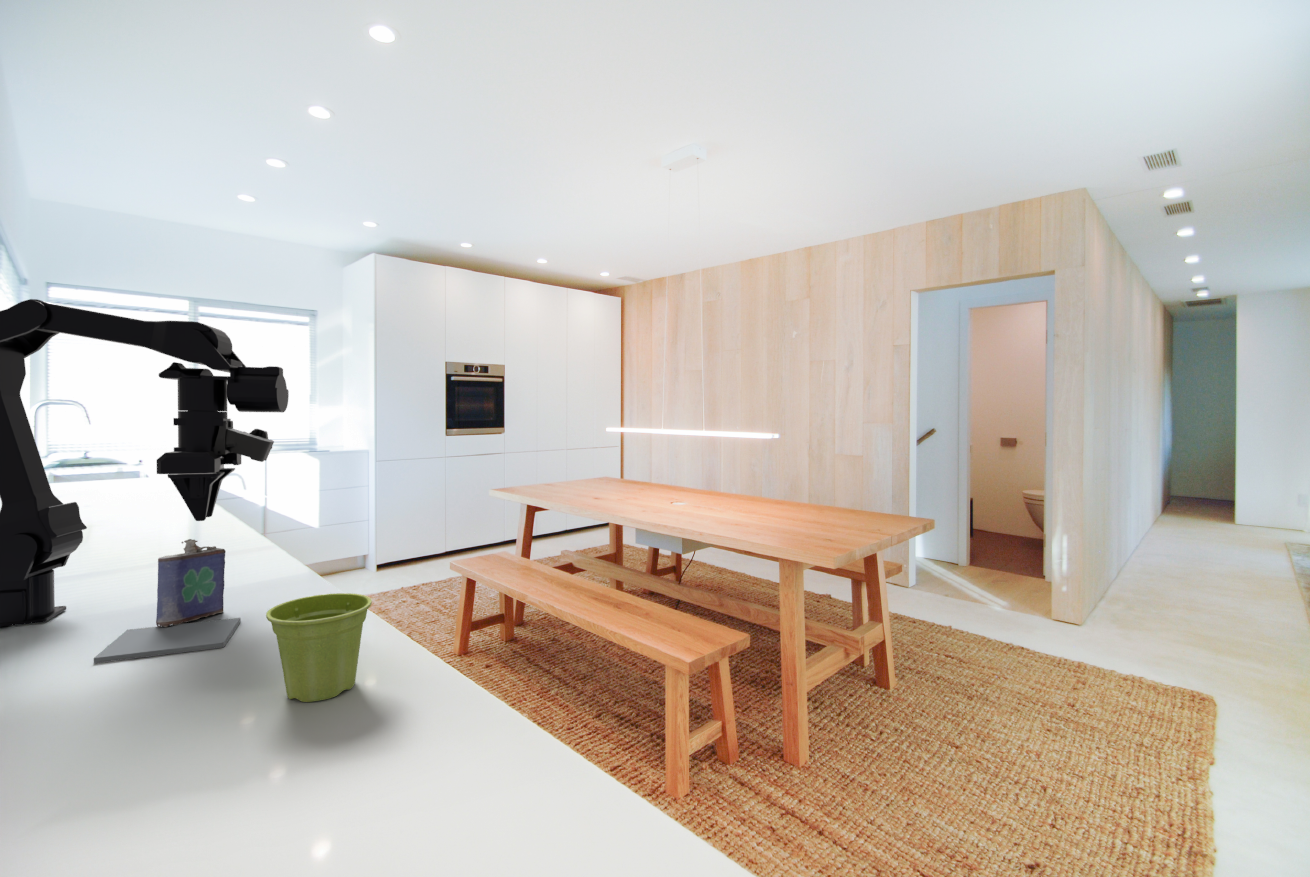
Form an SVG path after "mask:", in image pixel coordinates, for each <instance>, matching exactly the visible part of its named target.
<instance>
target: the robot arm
mask: <svg viewBox="0 0 1310 877" xmlns="http://www.w3.org/2000/svg"><path fill="white" fill-rule="evenodd" d="M58 334H66V335H71V336H77V337H82V338H88V339H95V340H100V341H107V342H112V343H118V344H124V345H130V346H135V347H142V348H146V349H149V350H152V351H153V352H154V351H155V352H158V353H160V354H163V355H165V356H169V357H172V358H175V359H178V360H182V361H185V362H187V363H191V364H192V363H193V364H197V365H201V366H202V365H203V366H206V367H208V368H209V369H208V368H196V367H195V368H194V367H193V368H192V367H186V366H185V365H184V364H183V363H181V362H175V361H174V362H172V363H171V364H170V366H168V367H167V368H166V369H164V370H162V371H161V372H159V373H158V377H159V378H160V379H167V380H175V381H176V380H177V417H173V426H177V444H178V446H177V447H176V446H175V447H173V451H169V452H167V451H166V452H164V454H162V455H160V456H159V457H158V458H157V459H156V475H167V478H168V479H170V480H171V482H172V483H173V485H174V487H175V488H176V491H178V493H179V494H180V497H181V499H182V500H183V502H184V503H185V505H186V507H187V508H188V510H189V512H190V513H191V516H192V517H193V518H194V521H196V522H203V521H205V520H207V518H210V517H213V513H214V510H215V507H216V504H217V499H218V496H219V492H220V488H221V485H222V482H223V480H224V479H225V478H227V477H228V476H229V475H230V474H232V473H233V472H234V471H235V470H236V467H233V468H232V467H229V468H228V467H227V468H225V465H233V466H240V465H242V456H244V457H248V458H249V459H250V460H253V461H256V462H260V463H263V462H264V461H267V459H268V457H269V454H270V453H271V450H272V449H273V445H274V443H275V441H274V440H272V439H269V436H268V431H266V430H263V429H260V428H254V429H253V430H252V431H250V432H246V431H242V430H239V429H235V428H234V422H233V421H234V420H231V419H232V418H228V403H229V404H230V406H231V405H232V406H235V409H236V410H237V411H238V412H240V413H284V412H286V410H287V408H288V405H289V389H288V388H287V382H286V381H287V380H286V379H285V376H284V369H283V368H282V367H280V366H271V365H270V366H265V367H263V366H261V367H259V366H258V367H256V366H255V367H253V366H246V365H245V364H244V362H243V361H242V360H241V359H240V358H239V356H238V355H237V354H236V353H235V352H234V351H233V344H232V340H231V338H230V336H228V335H227V333H226V332H224V331H223V330H222V329H218V328H216V327H214V326H211V325H207V324H205V323H201V322H198V321H190V320H189V321H188V320H187V321H186V320H159V321H158V320H155V321H153V320H143V319H142V320H141V319H137V318H132V317H131V318H130V317H124V316H119V315H113V314H109V313H103V312H99V311H92V310H88V309H86V310H85V309H80V308H76V307H70V306H64V305H61V304H60V305H58V304H54V303H52V302H48V301H43V300H40V299H38V298H37V299H33V298H30V299H27V300H23V301H20V302H18V303H16V304H14V305H12V306H10V307H8V308H6V309H3V310H0V500H1V507H0V627H10V626H11V627H12V626H21V625H31V624H39V623H40V624H41V623H46V622H48V621H49V620H52V618H54V617H56V616H57V615H60V614H61V613H63V612H64V611H66V610H67V606H66V605H60V606H59V605H58V606H55V569H58V568H62V567H65V566H66V565H67V562H68V560H69V558H70V556H71V554H72V553H74V552H75V551H76V550H77V549H78V547H79V546H80V545H81V544H82V543H83V541H84V532H83V531H85V530H87V528H88V527H87V526H86V525H85V523H84V522H83V520H82V519H81V514H80V506H79V505H78V502H76V501H72V502H67V503H63V502H62V501H61V500H60V499H59V498H58V497H56V496H55V494H54V493H53V491H52V489H51V485H50V482H49V479H48V477H47V474H46V471H45V468H44V464H43V460H42V459H41V455H40V452H39V449H38V446H37V443H36V439H35V437H34V434H33V431H32V428H31V424H30V421H29V419H28V415H27V413H26V410H25V406H24V403H23V401H22V400H23V399H22V398H21V390H22V388H23V385H24V380H25V379H26V375H27V372H26V363H25V362H26V361H25V360H26V358H27V357H30V356H31V355H33V354H35V353H37V352H38V351H40V350H41V349H42V348H43V347H44V346H46V344H47V343H48V342H49V341H50V340H51V339H52V338H53V337H55V336H58ZM210 369H211V370H214V371H220V372H224V373H229V376H227V375H222V376H221V375H214V374H213V372H212V371H211V370H210Z"/></svg>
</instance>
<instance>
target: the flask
mask: <svg viewBox="0 0 1310 877" xmlns="http://www.w3.org/2000/svg"><path fill="white" fill-rule="evenodd" d="M184 543H185V546H184V548H183V551H184V553H176V554H171V555H164V556H161V557H158V558H157V590H156V591H157V597H156V598H157V600H156V617H155V623H156V627H160V626H164V627H167V626H169V625H177V624H183V623H187V622H188V623H189V622H191V621H196V620H199V619H200V618H204V617H205V618H207V617H209V616H214V615H216V614H221V613H223V612H224V592H225V566H226V560H225V558H226V550H225V548H219V547H217V546H215V545H214V546H201V547H200V546H199V545H198V544H196V543H198V540H196V539H192V538H189V539H186V540H184V541H181V544H182V545H183V544H184Z"/></svg>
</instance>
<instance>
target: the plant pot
mask: <svg viewBox="0 0 1310 877" xmlns="http://www.w3.org/2000/svg"><path fill="white" fill-rule="evenodd" d="M371 606H372V598H371V597H369V596H367V595H364V594H360V593H348V592H347V593H343V592H341V593H326V594H316V595H311V596H304V597H301V598H300V597H299V598H296V599H291V600H288V601H285V602H282V603H279V604H277V605H275V606H273V607H271V608H269V609H267V610H268V611H267V612H266V613H265V617H266V620H267V621H269V622H270V623H271V627H272V632H273V634H274V635H275V636H276V640H277V646H278V651H279V657H280V664H281V668H282V673H283V680H284V684H285V685H284V686H285V691H286V696H287V697H288V698H287V699H289V700H293V699H297V700H298V701H300V702H301V703H313V702H318V701H323V700H330V699H332V698H334V697H337V696H339V695H340V693H342V692H343V691H345V690H351V689H352V688H353V687H354V686H355V683H356V679H357V672H358V671H357V670H358V663H359V653H360V648H361V641H362V640H361V639H362V632H363V628H364V626H363V625H364V622H365V621H366V618H367V613H368V610H369V608H371Z"/></svg>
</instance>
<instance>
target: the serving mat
mask: <svg viewBox="0 0 1310 877" xmlns="http://www.w3.org/2000/svg"><path fill="white" fill-rule="evenodd" d="M240 624H241V617H234V618H226V619H215V620H208V621H207V620H206V621H197V622H196V621H195V622H190V623H189V622H188V623H187V622H185V623H182V624H177V625H169V626H167V627H164V626H160V625H159V626H160V627H157V626H150V627H141V628H139V627H138V628H132V629H126V630H125V631H124V632H123V633H122V634H120V635H119V636H118V637H117V638H116V639H114V640H113V641H112V642H111V643H110V644H108V645H107V646H106V647H105V648H104V649H102V651H100V652H99V653H98V654H97V655H96V656H94V658H93V664H98V663H99V664H100V663H108V662H109V663H110V662H117V661H125V660H132V659H140V658H148V657H149V658H150V657H156V656H164V655H173V654H181V653H188V652H189V653H190V652H197V651H204V650H205V651H206V650H213V649H221V648H225V646H226V645H227V644H228V642H229V640H230V639H231V638H232V635H233V634H234V633H235V631H236V630H237V628H238V626H239V625H240Z"/></svg>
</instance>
